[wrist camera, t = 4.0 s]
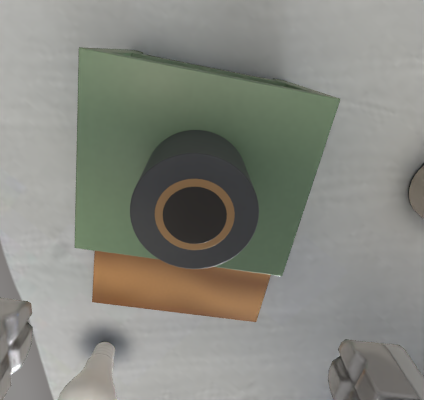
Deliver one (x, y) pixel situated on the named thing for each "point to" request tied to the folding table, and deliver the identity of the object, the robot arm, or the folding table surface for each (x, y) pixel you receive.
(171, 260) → the tape roll
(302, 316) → the folding table surface
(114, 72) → the shelf
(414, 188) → the coffee cup
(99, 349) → the lightbulb
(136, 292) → the copper sheet
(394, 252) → the folding table surface
